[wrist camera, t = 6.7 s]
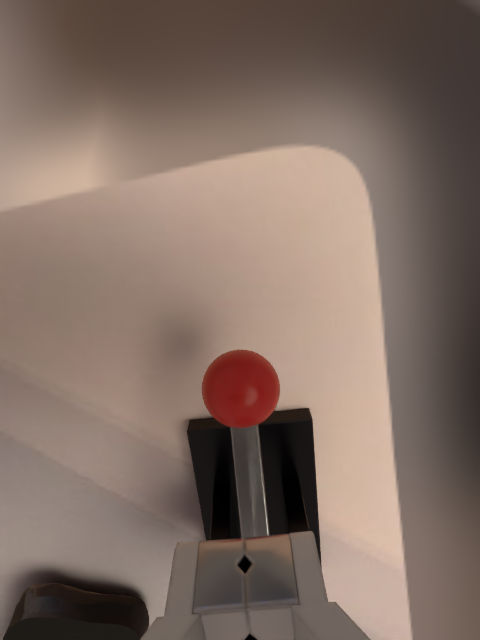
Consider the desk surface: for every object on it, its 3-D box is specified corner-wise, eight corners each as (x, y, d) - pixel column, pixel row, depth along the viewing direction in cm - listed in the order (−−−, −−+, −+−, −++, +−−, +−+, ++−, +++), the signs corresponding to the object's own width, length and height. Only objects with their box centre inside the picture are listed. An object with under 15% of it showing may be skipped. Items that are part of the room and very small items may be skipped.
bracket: (189, 419, 25) (145, 651, 13) (309, 407, 25) (377, 632, 13) (215, 573, 29) (200, 860, 17) (319, 563, 29) (378, 847, 17)
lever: (203, 354, 20) (193, 353, 16) (273, 346, 19) (277, 344, 16) (236, 709, 18) (232, 784, 15) (312, 704, 18) (325, 777, 15)
